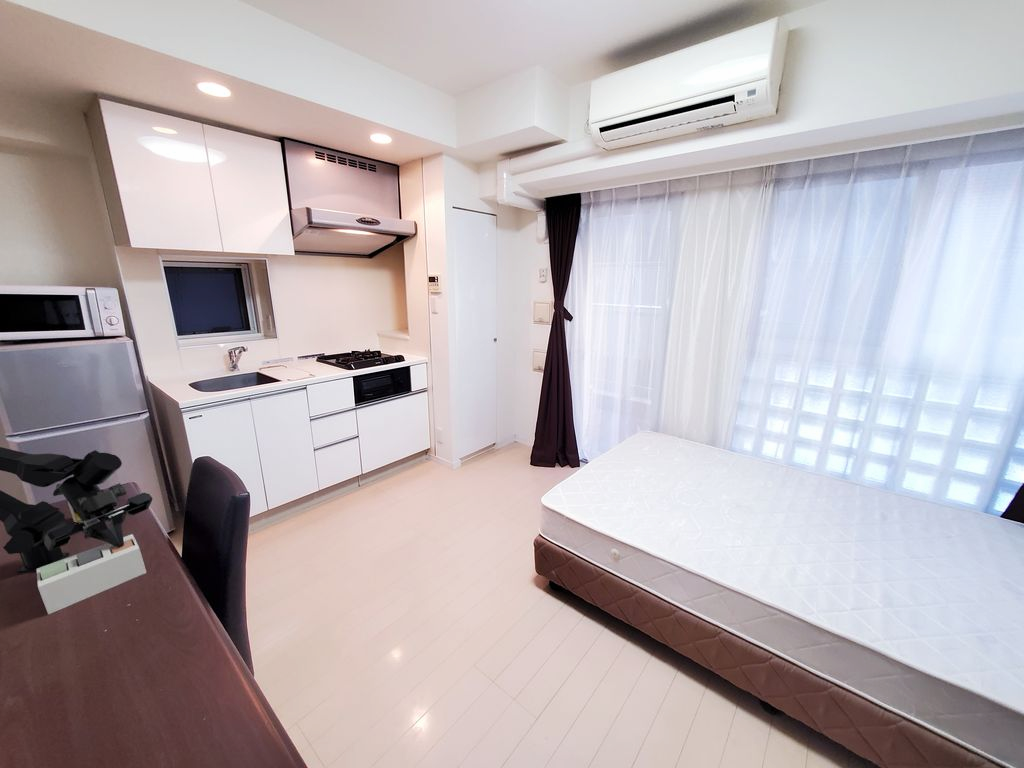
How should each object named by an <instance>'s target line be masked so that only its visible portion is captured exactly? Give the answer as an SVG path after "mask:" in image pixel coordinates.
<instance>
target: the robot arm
mask: <svg viewBox="0 0 1024 768" xmlns="http://www.w3.org/2000/svg"><path fill="white" fill-rule="evenodd" d="M122 464H123V463H122V460H121V458H120V457H119V456H117V455H115V454H112V453H108V452H99V451H98V450H96V449H95V450H93V451H90V452H88V453H87V454H86V455H85V456H84V457H83V458H76V457H75V458H74V457H70V456H69V455H65V454H59V453H58V454H56V453H38V454H37V453H35V454H33V453H28V452H27V453H26V452H24V451H18V450H15V449H10V448H5V447H1V446H0V471H1V472H5V473H10V474H13V475H16V476H17V477H18V478H19V480H20V481H22V482H23V483H27V484H29V485H32V486H35V487H39V488H46V487H49V486H50V487H51V486H52V485H54V484H56V483H57V482H61V481H62V482H61V483H58V484H56V488H55V489H54V490H53V493H52V495H53V496H54V497H57V496H61V495H63V497H64V499H66V500H67V503H68V502H69V503H70V505H71V506H72V507H73V509H74V510H73V511H74V513H75V514H78V516H79V517H80V519H81V520H82V521H83V522H82V523H79V524H75V525H73V523H71V522H70V521H69V522H66V518H65V517H66V515H65V514H64V513H63V512H62V511H61V508H59V507H56V506H54V505H52V504H50V503H49V502H47V501H44V500H42V501H39V502H38V503H35V504H30V503H29V504H28V503H25V502H23V501H21V500H20V499H18V498H16V497H14V496H12V495H10V494H9V493H6V492H5V491H3V490H1V489H0V522H2V523H3V526H4V529H5V532H6V534H8V536H10V539H9V540H8V541H7V542H6V544H5V545H4V546H3V547H2V548H3V550H4V551H6V553H7V554H9V555H13V554H14V555H15V554H19V557H20V558H21V561H22V563H23V564H22V566H21V567H20V568H18V569H17V570H16V571H17V572H18V573H30V572H32V573H34V572H36V573H37V568H40V567H43V566H46V565H48V564H51V563H54V562H57V561H59V560H62V559H65V558H68V557H69V556H71V555H70V553H71V552H63V550H62V547H63V546H65V545H68V544H69V542H70V541H71V536H74V535H76V534H79V533H81V532H82V534H84V539H85V540H87V539H90V538H92V539H96V540H100V541H101V542H105V543H109V544H112V545H114V546H116V547H119V548H120V547H122V546H124V540H123V537H124V534H123V529H122V525H123V524H124V522H125V520H126V517H127V516H128V515H129V516H136V515H137V514H141V513H142V512H145V511H147V510H148V509H149V508H150V506H151V504H152V501H153V497H152V495H151V494H150V493H147V492H141V493H140V494H139V493H138V494H136V495H134V496H131V497H130V498H127V500H126V503H125V504H124V505H121V506H119V507H117V505H118V503H117V502H119V501H120V499H119V498H121V497H123V496H125V495H127V491H126V489H125V487H124V486H123V485H122V484H121V483H117V484H114V485H111V486H109V487H108V489H109V490H107V491H105V490H104V489H101V488H100V486H99V485H102V484H104V483H105V482H106V481H107V480H108V479H109V478H110V477H111V476H112V475H114V474H115V473H116V472H117V471H118V470H119V469H120V468H121V466H122ZM115 507H117V508H115ZM106 522H107V523H108V524H106Z"/></svg>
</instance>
